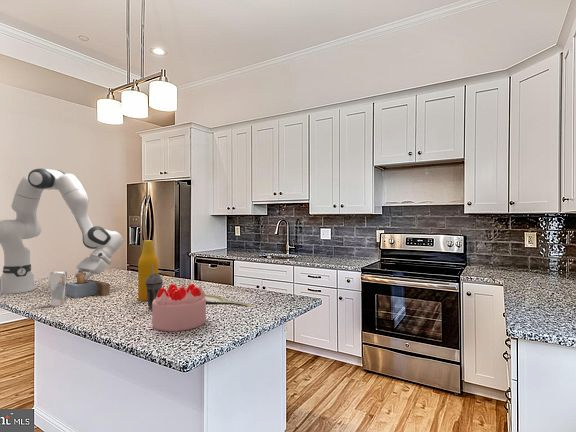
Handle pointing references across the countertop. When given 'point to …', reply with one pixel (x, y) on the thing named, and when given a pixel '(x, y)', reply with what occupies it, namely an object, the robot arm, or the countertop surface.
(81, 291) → the socket block
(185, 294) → the cake
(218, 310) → the countertop surface
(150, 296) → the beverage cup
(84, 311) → the countertop surface
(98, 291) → the backstop wall
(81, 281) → the dowel
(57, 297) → the beer glass
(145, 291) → the beer bottle
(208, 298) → the spoon
